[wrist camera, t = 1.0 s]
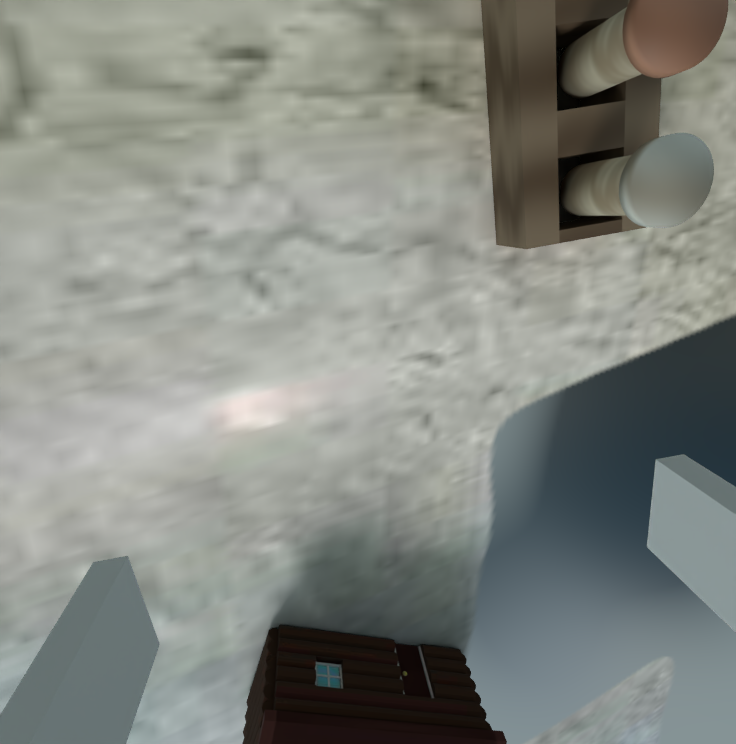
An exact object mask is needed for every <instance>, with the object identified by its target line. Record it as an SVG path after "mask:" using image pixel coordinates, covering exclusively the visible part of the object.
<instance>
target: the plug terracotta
mask: <svg viewBox="0 0 736 744" xmlns="http://www.w3.org/2000/svg"><path fill="white" fill-rule="evenodd" d="M727 12H728V0H630V1H629V3H628V6H627V7H626V8H625V9H623V10H622V11H620V12H618V13H617V14H615V15H614V16H612V17H611V18H609V19H608V20H606V21H605V22H603V23H602V24H600V25H598V26H597V27H595V28H594V29H592V30H591V31H589V32H588V33H586V34H585V35H583V36H582V37H580V38H578V39H577V40H575V41H574V42H572V43H571V44H570V45H569V46H568V47H567V48H566V49H565V50H564V52H563V53H562V55H561V57H560V60H559V63H558V69H557V76H558V81H559V84H560V87H561V88H562V90H563V91H564V92H565V93H566V94H567V95H568V96H570V97H572V98H575V99H583V98H586V97H589V96H591V95H594V94H596V93H598V92H601V91H603V90H605V89H608V88H610V87H612V86H615V85H617V84H620V83H622V82H624V81H627V80H629V79H631V78H634V77H636V76H638V75H641V74H643V75H645V76H648V77H652V78H665V77H669V76H672V75H675V74H677V73H680V72H682V71H685V70H688V69H690V68H692V67H694V66H696V65H697V64H699V63H700V62H701V61H703V60H704V59H705V58H706V57H707V56H708V55H709V53H710V52H711V51H712V50H713V48H714V47H715V45H716V44H717V42H718V40H719V38H720V36H721V34H722V32H723V29H724V26H725V23H726V18H727Z"/></svg>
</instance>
